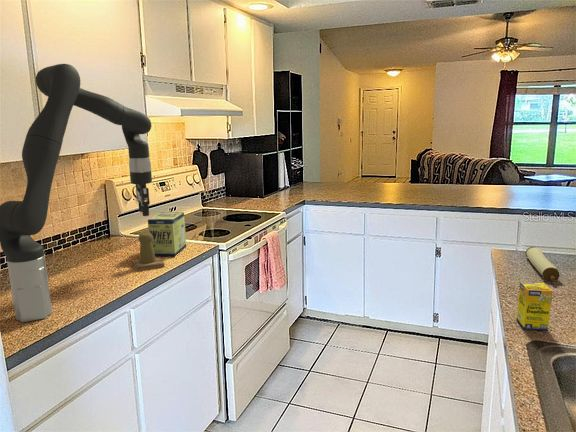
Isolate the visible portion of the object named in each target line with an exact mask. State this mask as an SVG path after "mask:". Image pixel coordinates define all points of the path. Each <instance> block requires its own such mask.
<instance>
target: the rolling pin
mask: <svg viewBox="0 0 576 432" xmlns="http://www.w3.org/2000/svg"><path fill="white" fill-rule="evenodd" d="M525 257H526V258H527V259H528V260H529V261H530V263H531V264H532V266H534V268H535V269H536V270H537V271H538V273H539V274H540V275H541V276H542V278H543V279H544V281H546V282H553V283H554V282H557V281H558V280H559V278H560V270H559V269H558V267H556V266H555V265H554V264H553V263H551V261H549V259H547V258H546V256H545V255H544V253H543V250H542V249H541V248H538V247H535V246H532V247H531V246H529V247H528V248H527V249H526V250H525Z"/></svg>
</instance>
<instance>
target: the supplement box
mask: <svg viewBox="0 0 576 432" xmlns="http://www.w3.org/2000/svg"><path fill="white" fill-rule="evenodd" d="M518 293H519V294H518V299H517V300H518V301H517V310H516V321H517V323H518V324H519V325H520V327H521V328H522V329H523V330H525V331H527V330H528V331H529V330H530V331H531V330H533V331H543V332H548V331H549V324H550V323H549V322H550V315H551V307H552V306H551V305H552V298H553V290H552V289H551V288H550V287H549V286H548V285H547V284H546V283H545V282H524V281H520V282H519V291H518Z"/></svg>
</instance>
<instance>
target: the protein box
mask: <svg viewBox="0 0 576 432" xmlns="http://www.w3.org/2000/svg"><path fill="white" fill-rule="evenodd" d="M147 228H148V229H147V230H148V233H151V234H152V236H153V240H152V245H153V249H154V254H155V257H160V258H163V257H164V258H176V257H177V256H178V255H179V254H181V252H182V251H183V250H184V249H186V248H187V239H186V238H187V237H186V236H187V235H186V222H185V212H181V211H180V212H179V211H178V212H177V211H176V212H175V211H173V212H169V211H167V212H166V211H165V212H164V211H163V212H159V213H157V214H156V215H154V216H153V217H150V218H149V219H147ZM178 253H179V254H178ZM177 254H178V255H177ZM176 255H177V256H176ZM175 256H176V257H175Z"/></svg>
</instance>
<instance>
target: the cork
mask: <svg viewBox="0 0 576 432" xmlns="http://www.w3.org/2000/svg"><path fill="white" fill-rule="evenodd" d="M152 240H153V236H152V234H151V233H149V232H143V233H140V234H139V235H138V242H139V244H140V245H139V246H140V248H139V259H140V263H141V264H150V263H154V262H155V261H156V258H155V254H154V249H153V245H152Z"/></svg>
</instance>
